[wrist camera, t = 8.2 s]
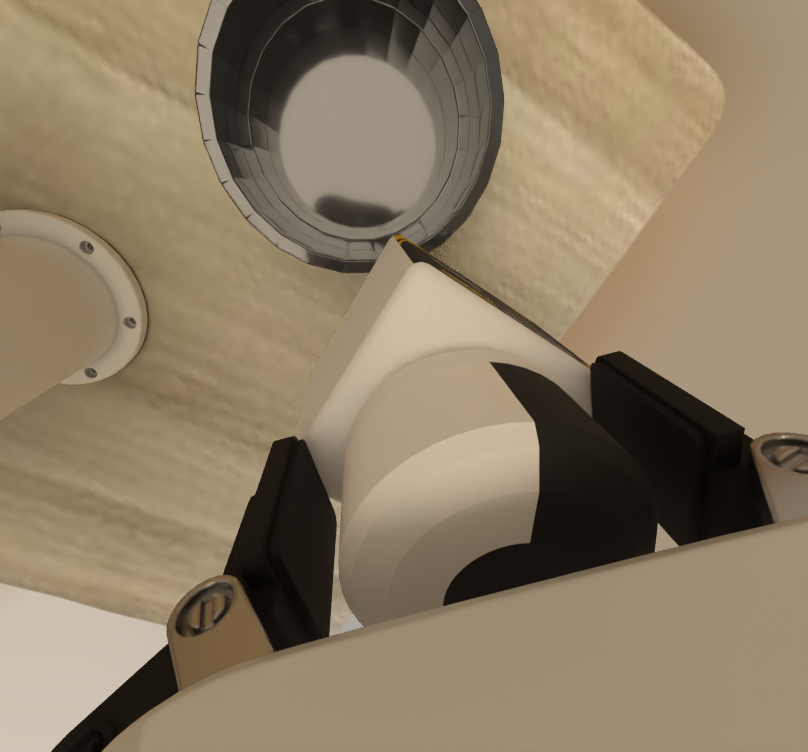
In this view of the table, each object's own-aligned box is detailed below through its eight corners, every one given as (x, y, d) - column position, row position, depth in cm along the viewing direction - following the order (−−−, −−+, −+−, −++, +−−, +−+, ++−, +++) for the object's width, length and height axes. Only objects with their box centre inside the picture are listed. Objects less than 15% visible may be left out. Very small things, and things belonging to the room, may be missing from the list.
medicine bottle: (532, 321, 18) (802, 527, 7) (440, 443, 20) (537, 744, 9) (393, 229, 16) (471, 320, 5) (307, 376, 18) (227, 667, 7)
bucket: (235, 221, 29) (186, 233, 21) (261, -37, 24) (208, -155, 16) (429, 271, 32) (451, 300, 24) (492, 50, 26) (550, -12, 18)
